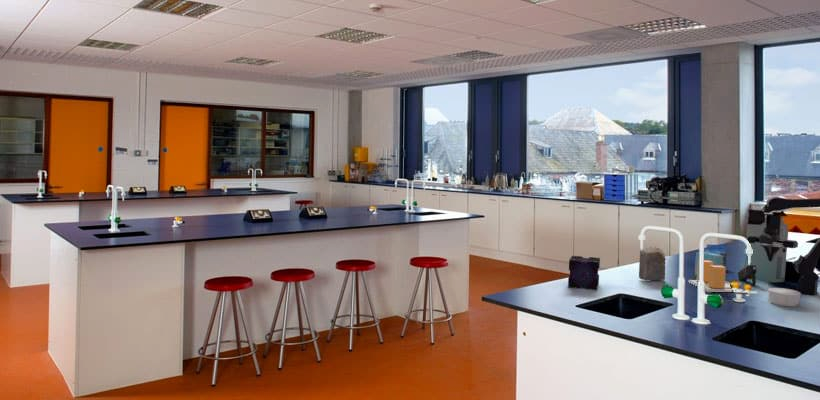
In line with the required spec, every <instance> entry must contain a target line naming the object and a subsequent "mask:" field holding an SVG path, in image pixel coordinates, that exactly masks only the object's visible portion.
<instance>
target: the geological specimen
mask: <svg viewBox="0 0 820 400" xmlns="http://www.w3.org/2000/svg"><path fill="white" fill-rule="evenodd" d="M666 259H667V257H666V254H665V253H664V251H663V250H662V249H660V248H659V247H657V246H654V247H651V246H650V247H647V248H645V249H642V250H640V251H639V263H638V264H639V266H638V267H639V268H638V269H639V270H638V278H639V279H640V280H643V281H652V282H655V281H656V282H658V281H665V280H666Z"/></svg>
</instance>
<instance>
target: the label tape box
mask: <svg viewBox="0 0 820 400" xmlns="http://www.w3.org/2000/svg"><path fill="white" fill-rule="evenodd" d="M705 252H709V253H714V254H719V255H721V256H722V257H723V263H722V266H724V267H726V268H727V252H726V250H725V244H706V249H705Z"/></svg>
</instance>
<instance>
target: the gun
mask: <svg viewBox="0 0 820 400" xmlns="http://www.w3.org/2000/svg"><path fill="white" fill-rule="evenodd" d="M756 272H757V271H756V265H750V266H746V267H742V269H740V270H739V271H738V272H737V277H738V281H742V282H743V281H745V282H746V281H747V280H751V287H752V286H754V287H755V286H756V282H757V281H756V280H757V279H756V277H755V274H756Z"/></svg>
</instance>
